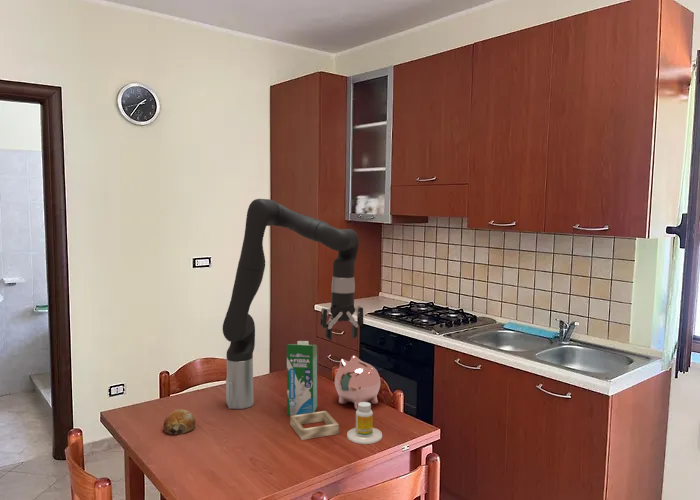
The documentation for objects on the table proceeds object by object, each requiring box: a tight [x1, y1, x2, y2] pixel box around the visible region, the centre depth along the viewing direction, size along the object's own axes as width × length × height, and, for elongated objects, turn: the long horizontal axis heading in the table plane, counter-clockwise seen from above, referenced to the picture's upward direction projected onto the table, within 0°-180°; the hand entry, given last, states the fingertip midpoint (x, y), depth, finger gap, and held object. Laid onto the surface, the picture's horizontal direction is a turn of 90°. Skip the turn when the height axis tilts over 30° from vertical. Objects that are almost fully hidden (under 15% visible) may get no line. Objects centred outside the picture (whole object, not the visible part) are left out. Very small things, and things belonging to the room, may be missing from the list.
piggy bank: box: [334, 354, 381, 411], centre depth 203 cm, size 15×18×16 cm
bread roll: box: [163, 408, 197, 436], centre depth 179 cm, size 10×10×8 cm
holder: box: [289, 410, 340, 441], centre depth 179 cm, size 12×12×3 cm
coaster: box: [346, 427, 383, 445], centre depth 174 cm, size 11×11×1 cm
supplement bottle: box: [355, 401, 374, 437], centre depth 174 cm, size 5×5×10 cm
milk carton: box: [286, 340, 318, 416], centre depth 193 cm, size 9×9×25 cm
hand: (341, 338), depth 182 cm, fingers open, 8 cm apart
